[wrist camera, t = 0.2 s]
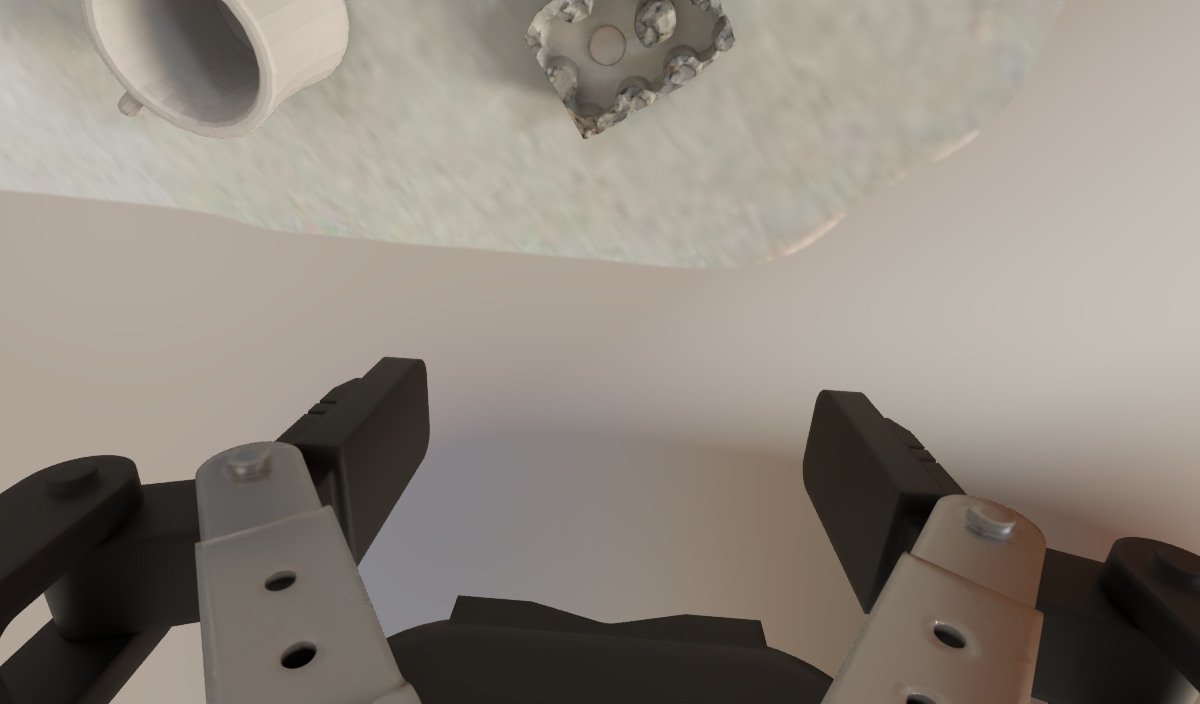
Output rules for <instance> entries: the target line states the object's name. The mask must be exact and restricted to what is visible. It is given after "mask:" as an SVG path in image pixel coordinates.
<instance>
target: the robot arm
mask: <svg viewBox="0 0 1200 704" xmlns="http://www.w3.org/2000/svg"><path fill="white" fill-rule="evenodd" d="M429 435H430V424H429V406H428V389H427V372H426V366H425V363H424V361H423V360H421V359H409V358H396V357H384V358H382V359H381V360H380V361H379V362H378V363H377V364H376V365H375V366H374V367H373V368H372V369H371V370H370V371H369V372H368V373H367V374H366V375H365V376H364V377H363V378H355V379H352V380H350V381H348V382H346V383H344V384H342V385H339V386H337V387H335V388H333V389H332V390H331V391H330V392H329V393H328V394H327V395H326V396H324V397H323V398H322V399H321V400H320V403H317V404H315V405H314V406H313V407H312V408H311V409H310V410H309V411H308V414H304V415H303V416H302V417H301V418H300V419H299V420H298V421H297V422H296V423H294V424H293V425H292V426H291V427H290V428H289V429H288V430H287V431H286V432H285V433H283V434H282V435H281V436H280V437H279V438H278V439H277V440H276V441H274V442H272V441H270V442H256V443H249V444H244V445H241V446H237V447H234V448H231V449H228V450H225V451H223V452H220V453H219V454H217V455H215V456H213V457H211V458H210V459H208V460H207V461H206V462H204V464H202V465H201V466H200V467H199V469H198V470H197V472H196V476H195V479H193V480H184V481H175V482H166V483H156V484H146V485H141V482H140V479H139V475H138V471H137V468H136V465H135V463H134V462H133V461H132V460H130V459H128V458H126V457H122V456H115V455H100V456H90V457H84V458H79V459H74V460H70V461H66V462H62V463H59V464H56V465H53V466H50V467H48V468H45V469H43V470H40V471H38V472H36V473H34V474H32V475H30V476H28V477H26V478H25V479H23V480H21V481H20V482H19V483H17V484H15V485H13V486H12V487H10V488H9V489H7V490H6V491H4V492H2V493H1V494H0V637H1V635H2V633H3V632H4V630H5V629H6V627H7V626H8V624H9V623H10V622H11V621H12V620H13V619H14V618H15V617H16V616H17V615H18V614H19V613H20V612H21V611H22V610H24V609H25V608H26V607H27V606H28V605H29V604H30V603H32V602H33V601H34V600H35V599H36V598H38V597H39V596H40V595H41V594H42V593H43V592H44V595H45V598H46V600H47V603H48V606H49V608H50V611H51V614H52V616H53V618H52V619H51V620H50V621H49V622H48V623H47V624H46V625H45V626H43V627H42V628H41V629H40V630H39V631H38V632H37V633H36V634H35V635H34V636H33V637H32V638H31V639H29V640H28V641H27V642H26V643H25V644H24V645H23V646H22V647H21V648H20V649H19V650H18V651H17V652H15V653H14V654H13V655H12V656H11V657H10V658H9V659H8V660H7V661H6V662H5V663H4V664H2V665H1V666H0V704H109V703H110V701H111V700H112V699H113V698H114V697H115V695H116V694H117V693H118V692H119V691H120V689H121V688H122V687H123V686H124V684H125V683H126V682H127V681H128V680H129V678H130V677H131V676H132V675H133V673H134V672H135V671H136V670H137V668H139V666H140V665H141V664H142V662H143V661H144V660H145V659H146V658H147V657H148V655H149V654H150V653H151V652H152V651H153V649H154V648H155V647H156V646H157V645H158V643H159V642H160V641H161V639H162V638H163V637H164V636H165V635H166V634H167V632H168V631H169V630H170V628H171V627H172V626H178V625H184V624H190V623H196V622H200V624H201V638H202V651H203V665H204V678H205V692H206V704H1029V703H1030V697H1033V698H1037V699H1039V700H1042V701H1045V702H1048V704H1193V702H1194V701H1195V699H1196V698H1197V696H1198V694H1199V693H1200V556H1198V555H1196V554H1194V553H1191V552H1189V551H1187V550H1184V549H1182V548H1179V547H1176V546H1173V545H1171V544H1167V543H1164V542H1161V541H1156V540H1152V539H1147V538H1139V537H1124V538H1121V539H1118V540H1117V541H1115V543H1114V544H1113V546H1112V548H1111V550H1110V552H1109V554H1108V556H1107V558H1106V561H1105V563H1103V562H1098V561H1095V560H1091V559H1087V558H1083V557H1080V556H1076V555H1072V554H1068V553H1064V552H1060V551H1057V550H1053V549H1049V548H1046V539H1045V536H1044V535H1043V533H1042V532H1041V530H1040V529H1039V528H1038V527H1037V526H1036V525H1034V523H1032V522H1031V521H1030V520H1029V519H1027V518H1026V517H1024V516H1023V515H1021V514H1019V513H1018V512H1016V511H1014V510H1012V509H1010V508H1008V507H1006V506H1004V505H1001V504H999V503H996V502H993V501H991V500H988V499H983V498H980V497H975V496H969V495H967V494H966V493H965V492H964V491H963V490H962V488H960V486H959V485H958V484H957V483H956V482H955V481H954V480H953V479H952V477H951V476H950V475H949V474H948V473H947V472H946V471H945V470H944V469H943V467H942V466H941V465H940V464H939V463H936V460H935V458H933V456H932V455H931V454H930V453H929V452H928V451H927V450H924V448H925V447H924V446H923V445H922V444H921V443H920V442H919V441H918V439H917V438H916V437H915V436H914V435H913V434H912V433H911V432H910V431H908V430H906V429H905V428H903V427H902V426H900V425H899V424H897V423H895V422H894V421H892V420H891V419H889V418H884V417H883V416H882V415H881V414H880V412H879V411H878V410H877V409H876V408H875V407H874V405H873V404H872V403H871V402H870V401H869V399H868V398H867V397H866V396H865V395H864V394H863V393H861V392H847V391H834V390H822V391H821V392H820V393H819V395H818V397H817V400H816V404H815V409H814V413H813V418H812V422H811V427H810V431H809V436H808V440H807V445H806V450H805V454H804V460H803V480H804V485H805V488H806V491H807V493H808V495H809V497H810V499H811V501H812V503H813V505H814V508H815V510H816V512H817V514H818V516H819V518H820V520H821V522H822V524H823V527H824V528H825V531H826V533H827V535H828V537H829V539H830V541H831V543H832V546H833V548H834V550H835V552H836V554H837V556H838V558H839V560H840V562H841V565H842V567H843V569H844V571H845V573H846V575H847V577H848V579H849V581H850V584H851V586H852V588H853V590H854V592H855V594H856V596H857V598H858V601H859V603H860V605H861V607H862V609H863V611H864V613H865V614H869V616H868V617H867V619H866V621H865V623H864V625H863V627H862V629H861V630H860V632H859V634H858V636H857V638H856V640H855V641H854V643H853V645H852V647H851V649H850V651H849V652H848V654H847V656H846V658H845V660H844V662H843V664H842V665H841V667H840V669H839V671H838V673H837V675H836V676H835V678H834V679H833V678H832V677H830V676H829V675H827V674H826V673H824V672H822V671H821V670H819V669H817V668H816V667H814V666H812V665H811V664H809V663H807V662H805V661H803V660H801V659H799V658H797V657H795V656H792V655H790V654H787V653H785V652H782V651H780V650H777V649H774V648H771V647H768V646H767V644H766V640H765V636H764V632H763V628H762V624H761V621H759V620H747V619H735V618H724V617H711V616H699V615H688V614H685V615H676V616H669V617H661V618H653V619H646V620H638V621H630V622H622V623H613V624H609V623H602V622H598V621H595V620H591V619H588V618H585V617H581V616H578V615H574V614H571V613H568V612H565V611H562V610H558V609H555V608H552V607H548V606H545V605H542V604H538V603H535V602H531V601H519V600H507V599H494V598H483V597H471V596H458V598H457V600H456V603H455V606H454V608H453V611H452V614H451V617H450V619H449V620H442V621H436V622H432V623H428V624H423V625H420V626H416V627H413V628H410V629H407V630H405V631H402V632H399V633H397V634H395V635H393V636H390V637H388V638H386V637H385V635H384V632H383V630H382V627H381V625H380V622H379V620H378V618H377V615H376V613H375V610H374V608H373V606H372V603H371V601H370V598H369V596H368V593H367V591H366V588H365V586H364V584H363V581H362V579H361V576H360V574H359V572H358V569H357V566H358V565H359V563H360V562H361V560H362V558H363V557H364V555H365V553H366V552H367V550H368V549H369V547H370V545H371V544H372V542H373V540H374V539H375V537H376V536H377V533H378V532H379V531H380V529H381V527H382V526H383V524H384V522H385V521H386V519H387V518H388V516H389V514H390V513H391V511H392V509H393V508H394V506H395V504H396V503H397V501H398V500H399V498H400V496H401V495H402V493H403V491H404V490H405V488H406V487H407V485H408V483H409V482H410V480H411V478H412V476H413V475H414V474H415V472H416V470H417V469H418V467H419V465H420V464H421V462H422V460H423V459H424V457H425V454H426V451H427V447H428V443H429Z"/></svg>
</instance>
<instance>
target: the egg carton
mask: <svg viewBox="0 0 1200 704" xmlns="http://www.w3.org/2000/svg"><path fill="white" fill-rule="evenodd" d="M525 39H526V41H527V43H528V45H529V46H530V48H531V50H532V52H533V54H534V55H535V57H536V58H537V60H538V61H539V63H540V65H541V66H542V68H543V70H544V72H545V73H546V75H547V77H548V79H549V80H550V82H551V83H552V84H553V86H554V88H555V89H556V91H557V93H558V95H559V96H560V98H561V99H562V101H563V103H564V105H565V107H566V109H567V111H568V113H569V115H570V116H571V118H572V120H573V121H574V123H575V125H576V126H577V128H578V130H579V132H580V133H581V135H582V137H583V138H584V139H587V138H590V137H592V136H593V135H595V134H599V133H601V132H603V131H604V130H606V129H607V128H609V127H612V126H614V125H615V124H617V123H619V122H621V121H622V120H624V119H625V118H627V117H628V116H629V115H630V114H631V113H633V112H635V111H637V110H639V109H641V108H643V107H645V106H648V105H650V104H652V103H653V102H654V101H655V100H657V99H659V98H660V97H662V96H664V95H666V94H668V93H670V92H672V91H673V90H675V89H677V88H679V87H682V86H683V85H685V84H686V83H687V82H688V81H690V80H691V79H692V78H693V77H695V76H696V75H697V74H698V73H700V72H701V71H702V70H703V69H704V68H705V67H706V66H707V65H709V64H710V63H711V62H712V61H714V60H715V59H716V58H717V57H718V56H719V55H720V54H721V53H723V52H724V51H727V50H729V49H730V48H731V47H732V46H733V45H734V44H735V43H736V41H735V39H734V36H733V33H732V28H731V25H730V23H729V20H728V18H727V16H726V15H725V14H724V13H723V11H722V8H721V4H720V0H553V1H552V2H550V3H549V4H548V5H546V6H545V7H544V8H543V9H542V10H541V11H539V12H538V13H537V15H536V16H535V18H534V19H533V21H532V23H531V25H530V27H529V29H528V32H527V34H526V35H525Z"/></svg>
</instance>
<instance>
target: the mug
mask: <svg viewBox="0 0 1200 704" xmlns="http://www.w3.org/2000/svg"><path fill="white" fill-rule="evenodd" d="M80 4H81V9H82V14H83V19H84V24H85V26H86V28H87V31H88V33H89V35H90V38H91V40H92V42H93V44H94V47H95V49H96V51H97V52H98V54H99V55H100V57H101V58H102V60H103V61H104V63H105V64H106V66H107V67H108V69H109V70H110V72H111V73H112V75H113V76H114V77H115V78H116V79H117V80H118V81H119V82H120V83H121V84H122V86H123V87H124V88H125V89H126V90H127V92H126V93H125V94H124V95H123V97H122V98H121V99H120V101H119V103H118V107H119V110H120V112H121V113H123V114H125V115H127V116H138V115H140V114H142V113H144V112H145V111H147V110H148V109H149V110H150V111H151V112H153V113H154V114H156V115H157V116H159V117H161V118H163V119H164V120H166V121H168V122H169V123H171V124H173V125H175V126H176V127H179V128H182V129H184V130H187V131H190V132H192V133H195V134H198V135H201V136H207V137H215V138H222V139H224V138H231V137H238V136H243V135H245V134H247V133H249V132H251V131H253V130H255V129H257V128H259V127H260V126H261V125H262V124H263V123H264V122H265V120H266V119H267V118H268V117H269V116H270V114H271V113H272V112H273V111H274V110H275V108H276V107H277V106H278V105H279V104H280V103H281V102H282V101H284V100H285V99H287V98H288V97H290V96H291V95H292V94H294V93H295V92H297V91H299V90H302V89H304V88H307V87H309V86H311V85H313V84H315V83H317V82H318V81H320V80H322V79H324V78H326V77H328V76H329V75H330V74H331V73H332V72H333V71H334V69H335V68H336V67H337V66H338V65H339V64H340V62H341V60H342V57H343V55H344V52H345V50H346V47H347V45H348V33H349V21H348V15H347V9H346V3H345V1H344V0H80Z"/></svg>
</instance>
